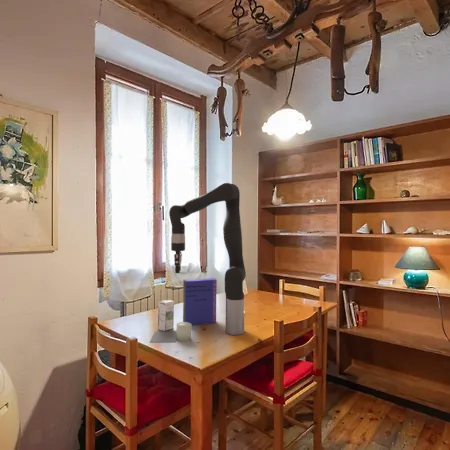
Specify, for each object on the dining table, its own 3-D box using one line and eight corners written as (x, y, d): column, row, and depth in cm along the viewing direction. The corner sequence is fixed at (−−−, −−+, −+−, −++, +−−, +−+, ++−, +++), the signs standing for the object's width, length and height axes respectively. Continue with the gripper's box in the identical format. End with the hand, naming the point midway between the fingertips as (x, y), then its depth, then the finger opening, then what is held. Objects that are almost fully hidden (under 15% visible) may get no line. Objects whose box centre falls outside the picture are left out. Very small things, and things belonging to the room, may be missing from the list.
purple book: (213, 320, 192) (213, 277, 192) (216, 322, 188) (216, 279, 187) (182, 323, 186) (183, 279, 185) (185, 326, 182) (185, 281, 181)
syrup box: (166, 327, 179) (166, 299, 180) (173, 329, 175) (174, 300, 176) (157, 329, 175) (158, 300, 175) (165, 331, 171) (165, 302, 172)
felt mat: (178, 331, 172) (178, 331, 172) (176, 342, 157) (176, 342, 157) (154, 332, 171) (154, 331, 171) (149, 342, 156) (149, 342, 156)
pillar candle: (190, 336, 165) (191, 322, 165) (190, 341, 158) (191, 326, 158) (176, 335, 165) (177, 321, 165) (175, 341, 158) (176, 326, 158)
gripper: (184, 242, 179) (184, 274, 180) (185, 241, 194) (185, 270, 194) (169, 242, 179) (169, 274, 179) (172, 241, 193) (172, 270, 193)
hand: (178, 271), depth 187 cm, fingers open, 7 cm apart
